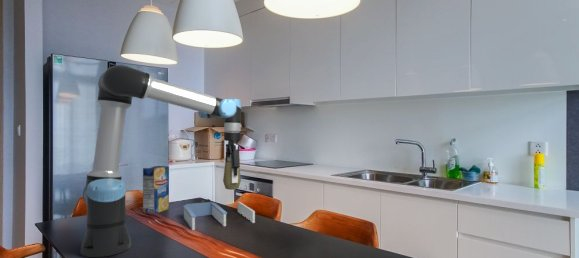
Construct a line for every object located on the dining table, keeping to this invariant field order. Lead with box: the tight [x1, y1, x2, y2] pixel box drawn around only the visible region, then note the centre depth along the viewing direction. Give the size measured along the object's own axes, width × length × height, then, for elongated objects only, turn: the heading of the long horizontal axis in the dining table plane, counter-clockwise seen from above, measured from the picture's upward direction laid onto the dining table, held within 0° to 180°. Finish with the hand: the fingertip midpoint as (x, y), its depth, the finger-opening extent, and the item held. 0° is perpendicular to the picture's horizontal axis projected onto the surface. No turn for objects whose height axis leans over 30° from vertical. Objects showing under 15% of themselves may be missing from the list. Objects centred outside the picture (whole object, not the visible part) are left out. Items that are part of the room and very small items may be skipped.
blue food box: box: [142, 165, 170, 215], centre depth 173 cm, size 7×11×22 cm, turn 162°
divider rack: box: [182, 201, 256, 231], centre depth 155 cm, size 23×27×6 cm
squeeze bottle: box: [222, 154, 242, 190], centre depth 158 cm, size 8×8×18 cm
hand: (231, 181), depth 158 cm, fingers closed on squeeze bottle, 8 cm apart
